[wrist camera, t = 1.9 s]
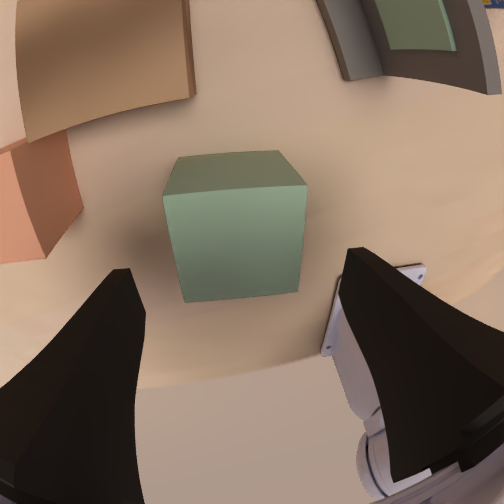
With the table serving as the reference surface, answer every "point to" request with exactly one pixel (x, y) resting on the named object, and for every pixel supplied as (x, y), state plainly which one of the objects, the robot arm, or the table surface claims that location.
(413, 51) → the board
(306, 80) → the table surface
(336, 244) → the table surface
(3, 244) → the terracotta block
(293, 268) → the green block
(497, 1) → the ink cartridge box
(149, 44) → the walnut block
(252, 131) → the table surface
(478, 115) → the table surface
